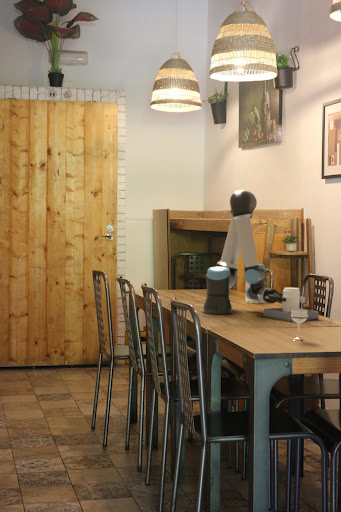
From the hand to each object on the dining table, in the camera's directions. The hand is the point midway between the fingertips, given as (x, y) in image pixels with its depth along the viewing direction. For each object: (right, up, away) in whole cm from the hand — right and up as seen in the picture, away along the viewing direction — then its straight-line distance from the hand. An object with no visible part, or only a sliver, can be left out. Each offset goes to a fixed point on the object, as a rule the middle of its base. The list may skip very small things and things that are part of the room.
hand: (297, 300), depth 349 cm
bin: (-3, -9, +5) cm, 11 cm away
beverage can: (-3, -6, +4) cm, 8 cm away
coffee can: (-13, -6, +73) cm, 74 cm away
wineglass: (-11, -12, -62) cm, 64 cm away
